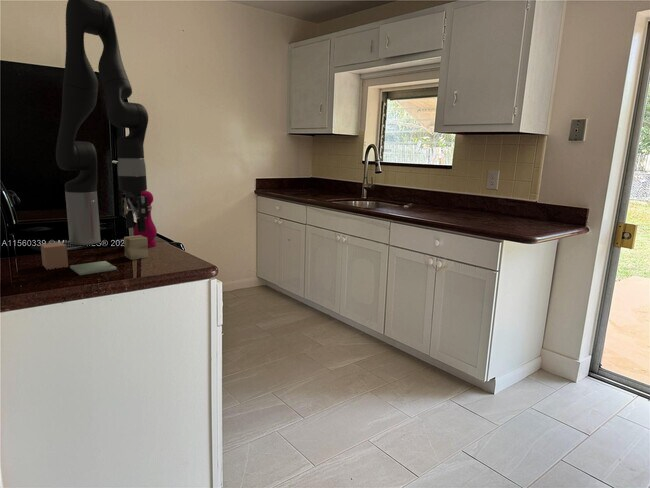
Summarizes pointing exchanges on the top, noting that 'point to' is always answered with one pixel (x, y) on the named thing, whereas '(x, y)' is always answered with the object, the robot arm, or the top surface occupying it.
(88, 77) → the robot arm
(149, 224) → the pepper mill
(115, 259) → the top surface
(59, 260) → the terracotta block
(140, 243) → the maple block
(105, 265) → the pad
